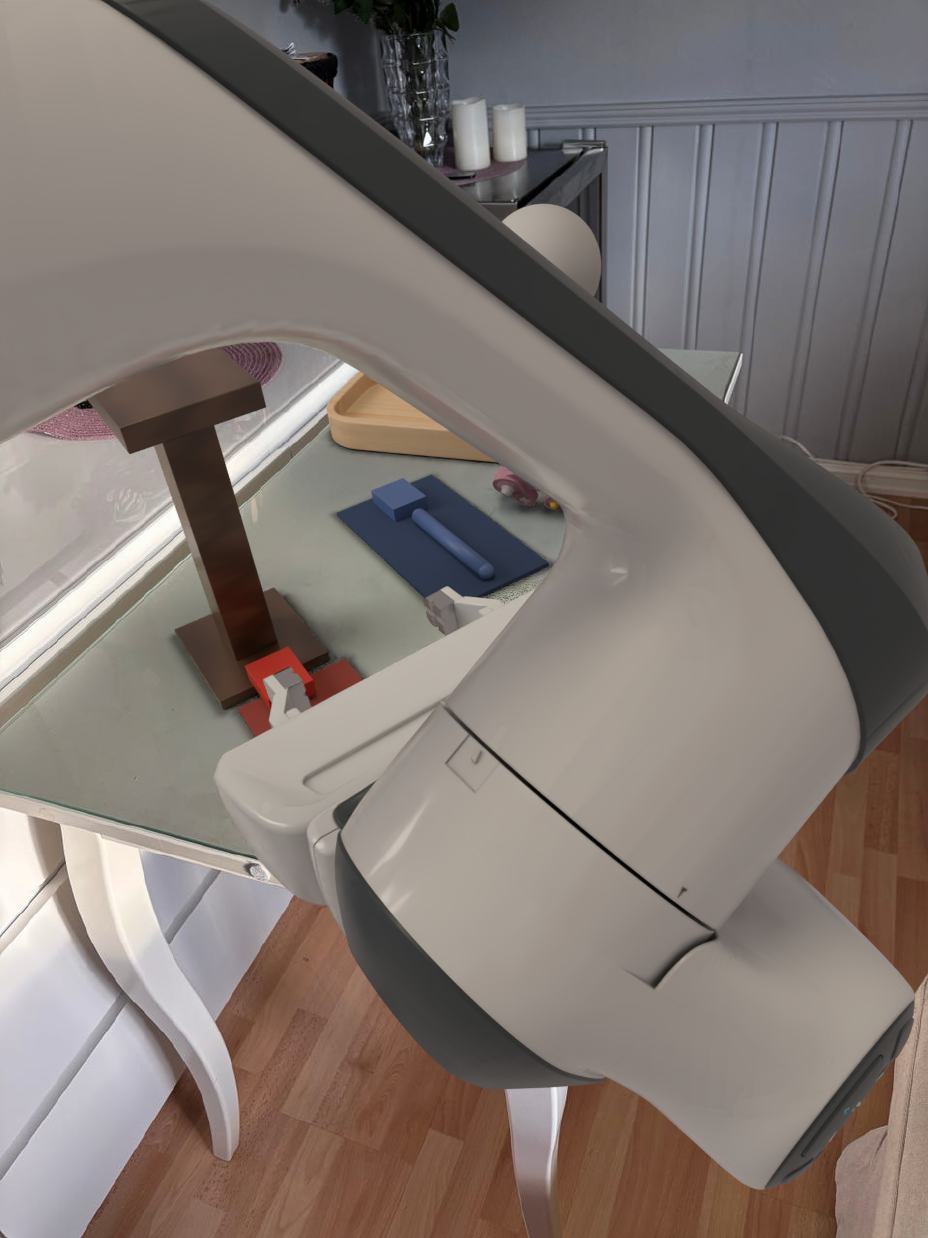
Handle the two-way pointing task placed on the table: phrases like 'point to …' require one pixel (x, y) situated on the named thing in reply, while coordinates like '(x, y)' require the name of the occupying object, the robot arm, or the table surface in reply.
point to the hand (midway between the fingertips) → (360, 641)
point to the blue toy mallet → (427, 522)
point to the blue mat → (433, 562)
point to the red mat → (326, 686)
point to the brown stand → (209, 512)
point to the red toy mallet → (274, 665)
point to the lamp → (397, 427)
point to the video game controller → (520, 489)
